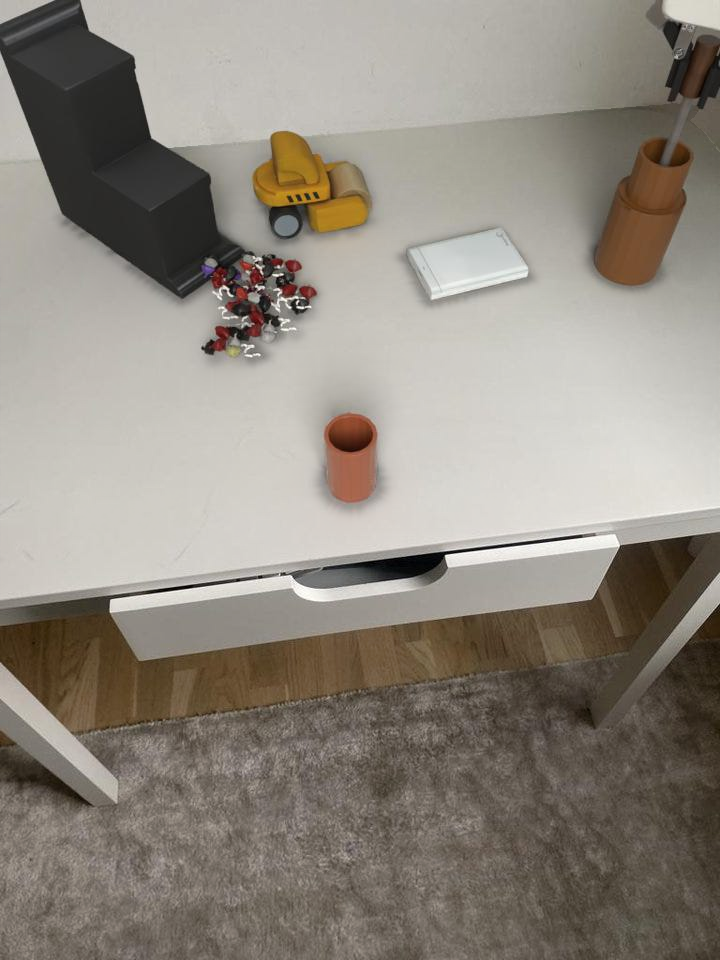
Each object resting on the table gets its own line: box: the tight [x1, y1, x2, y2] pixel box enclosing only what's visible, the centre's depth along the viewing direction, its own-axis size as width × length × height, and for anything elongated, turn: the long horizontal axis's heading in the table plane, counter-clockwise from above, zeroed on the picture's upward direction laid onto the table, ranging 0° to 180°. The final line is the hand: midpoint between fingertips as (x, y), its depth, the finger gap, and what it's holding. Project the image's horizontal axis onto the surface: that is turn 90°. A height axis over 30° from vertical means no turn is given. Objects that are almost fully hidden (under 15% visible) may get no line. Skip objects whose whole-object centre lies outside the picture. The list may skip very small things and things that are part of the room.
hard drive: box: [406, 227, 530, 301], centre depth 92 cm, size 2×8×12 cm
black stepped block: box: [0, 0, 246, 299], centre depth 86 cm, size 23×11×24 cm, turn 49°
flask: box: [593, 136, 695, 286], centre depth 87 cm, size 8×8×15 cm
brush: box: [659, 34, 720, 167], centre depth 79 cm, size 3×3×20 cm
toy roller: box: [252, 130, 373, 240], centre depth 94 cm, size 9×14×10 cm, turn 103°
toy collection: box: [200, 250, 318, 358], centre depth 87 cm, size 15×14×5 cm
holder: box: [323, 412, 378, 504], centre depth 72 cm, size 5×5×8 cm
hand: (688, 97), depth 75 cm, fingers closed on brush, 2 cm apart
